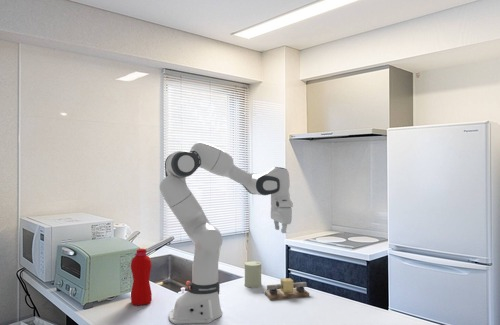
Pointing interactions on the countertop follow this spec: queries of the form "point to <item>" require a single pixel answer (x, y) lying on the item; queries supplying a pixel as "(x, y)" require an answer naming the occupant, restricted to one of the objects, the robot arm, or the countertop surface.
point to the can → (252, 274)
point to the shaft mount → (297, 292)
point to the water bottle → (141, 278)
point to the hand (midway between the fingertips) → (280, 231)
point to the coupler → (286, 285)
